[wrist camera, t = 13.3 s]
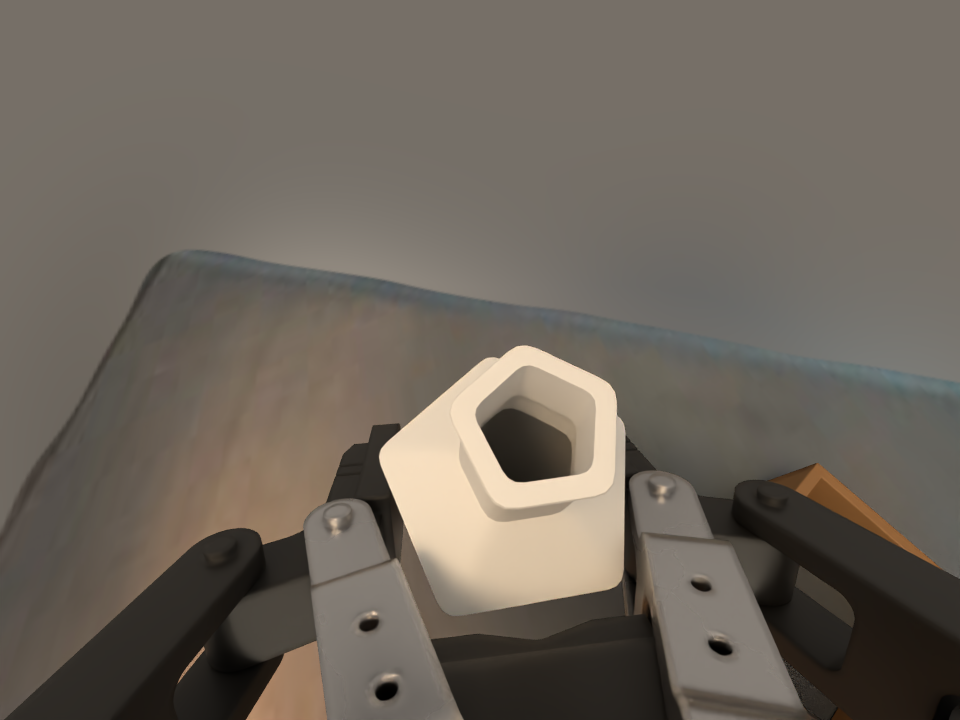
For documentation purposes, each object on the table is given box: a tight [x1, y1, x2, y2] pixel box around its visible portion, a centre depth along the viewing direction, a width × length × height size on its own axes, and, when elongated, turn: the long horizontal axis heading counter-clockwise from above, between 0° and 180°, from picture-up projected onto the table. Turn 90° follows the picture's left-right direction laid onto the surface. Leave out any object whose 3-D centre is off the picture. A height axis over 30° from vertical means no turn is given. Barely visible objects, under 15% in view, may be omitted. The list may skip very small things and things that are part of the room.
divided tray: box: [769, 463, 941, 720], centre depth 19 cm, size 18×9×6 cm, turn 131°
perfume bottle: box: [379, 345, 625, 616], centre depth 12 cm, size 5×4×15 cm
